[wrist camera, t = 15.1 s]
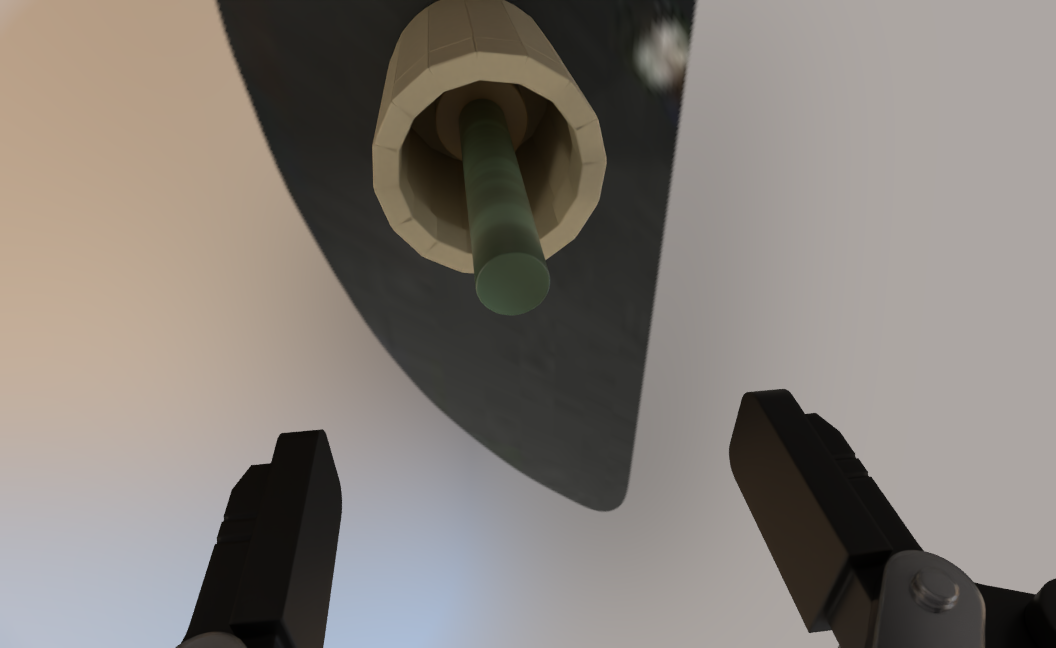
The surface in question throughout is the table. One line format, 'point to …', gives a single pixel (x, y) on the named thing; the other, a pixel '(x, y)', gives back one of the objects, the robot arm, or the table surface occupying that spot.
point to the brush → (495, 192)
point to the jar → (438, 177)
